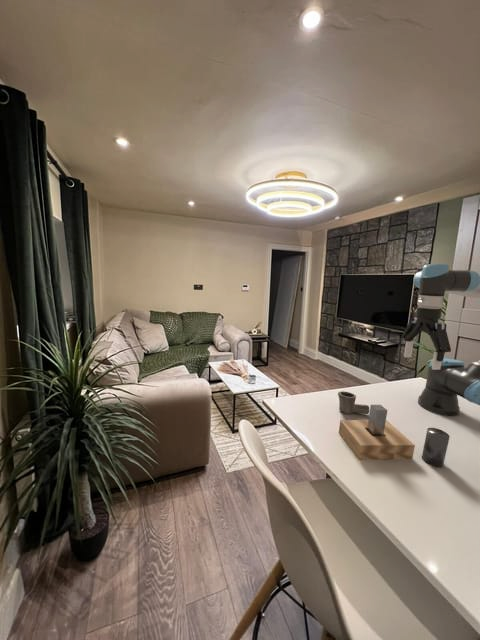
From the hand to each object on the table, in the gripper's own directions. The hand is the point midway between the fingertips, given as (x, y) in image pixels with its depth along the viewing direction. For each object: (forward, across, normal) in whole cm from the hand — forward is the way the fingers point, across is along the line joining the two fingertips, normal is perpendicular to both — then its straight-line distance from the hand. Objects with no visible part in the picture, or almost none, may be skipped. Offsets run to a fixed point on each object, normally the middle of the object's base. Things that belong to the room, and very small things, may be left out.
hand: (420, 362), depth 99 cm
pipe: (+25, -10, -20) cm, 34 cm away
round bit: (+26, +20, -9) cm, 34 cm away
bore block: (+25, +12, -24) cm, 36 cm away
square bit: (+25, +12, -24) cm, 36 cm away
